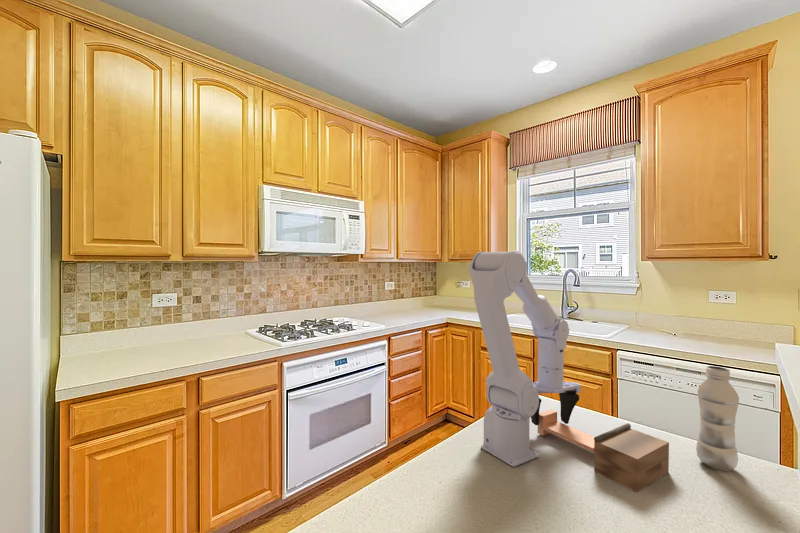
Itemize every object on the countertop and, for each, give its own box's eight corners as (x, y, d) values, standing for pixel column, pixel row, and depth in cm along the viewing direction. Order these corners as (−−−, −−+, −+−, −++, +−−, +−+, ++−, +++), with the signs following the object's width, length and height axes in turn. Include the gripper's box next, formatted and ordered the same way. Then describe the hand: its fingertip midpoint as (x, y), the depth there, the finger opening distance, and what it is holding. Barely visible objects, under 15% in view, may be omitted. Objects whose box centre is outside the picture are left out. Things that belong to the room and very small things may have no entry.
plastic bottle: (720, 458, 79) (722, 364, 78) (747, 476, 72) (749, 373, 72) (688, 456, 79) (689, 363, 79) (711, 474, 72) (712, 372, 72)
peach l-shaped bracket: (537, 432, 89) (537, 413, 89) (551, 427, 92) (551, 409, 92) (593, 459, 77) (593, 437, 77) (607, 452, 80) (607, 431, 80)
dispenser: (593, 470, 74) (593, 436, 74) (625, 454, 80) (626, 422, 80) (637, 492, 67) (637, 454, 67) (668, 472, 73) (668, 437, 73)
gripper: (529, 372, 84) (529, 431, 84) (589, 370, 86) (588, 428, 86) (516, 363, 91) (515, 418, 91) (571, 362, 93) (570, 416, 93)
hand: (549, 422), depth 89 cm, fingers open, 7 cm apart
